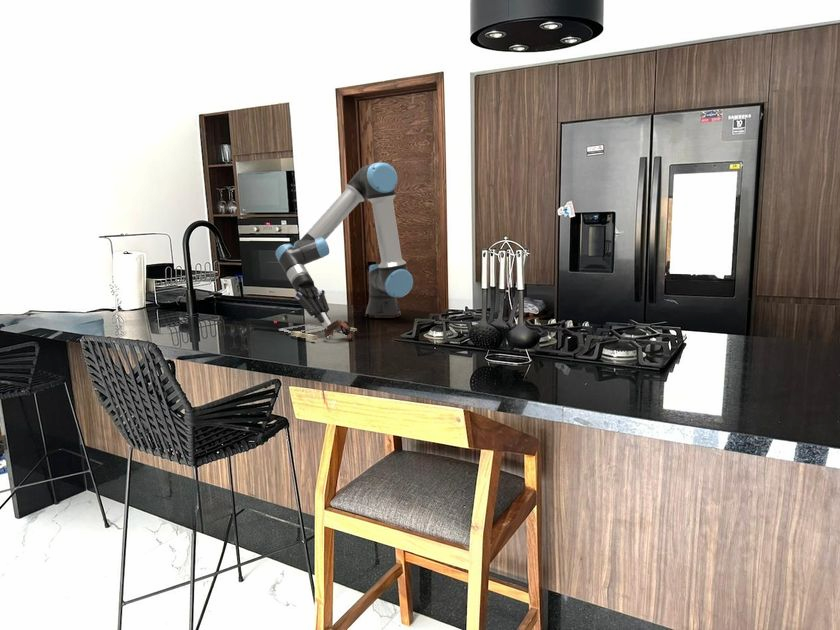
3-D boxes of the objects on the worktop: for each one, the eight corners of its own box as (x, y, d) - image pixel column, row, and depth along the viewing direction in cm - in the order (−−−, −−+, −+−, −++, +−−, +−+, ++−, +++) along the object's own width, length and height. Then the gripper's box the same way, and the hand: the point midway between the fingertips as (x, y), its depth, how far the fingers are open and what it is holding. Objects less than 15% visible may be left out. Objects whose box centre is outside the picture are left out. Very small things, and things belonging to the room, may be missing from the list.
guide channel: (291, 337, 224) (290, 331, 224) (333, 330, 238) (332, 324, 238) (314, 343, 215) (314, 336, 214) (357, 335, 229) (356, 328, 228)
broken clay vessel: (348, 344, 214) (336, 325, 212) (328, 354, 218) (316, 334, 217) (362, 330, 224) (350, 311, 223) (342, 339, 229) (330, 320, 227)
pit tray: (278, 332, 234) (278, 328, 234) (308, 327, 244) (308, 324, 244) (293, 336, 228) (293, 332, 227) (324, 331, 238) (324, 327, 237)
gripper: (310, 284, 239) (339, 332, 230) (282, 287, 230) (310, 337, 221) (318, 271, 234) (348, 320, 226) (289, 274, 225) (319, 324, 216)
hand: (329, 328), depth 223 cm, fingers closed
